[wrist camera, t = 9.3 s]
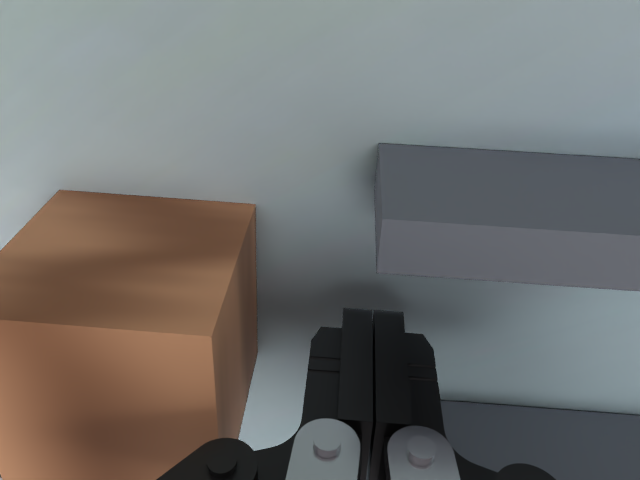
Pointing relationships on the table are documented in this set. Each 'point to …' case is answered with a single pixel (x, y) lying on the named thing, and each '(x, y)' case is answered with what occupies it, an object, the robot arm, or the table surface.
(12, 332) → the terracotta block
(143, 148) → the table surface
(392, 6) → the table surface
